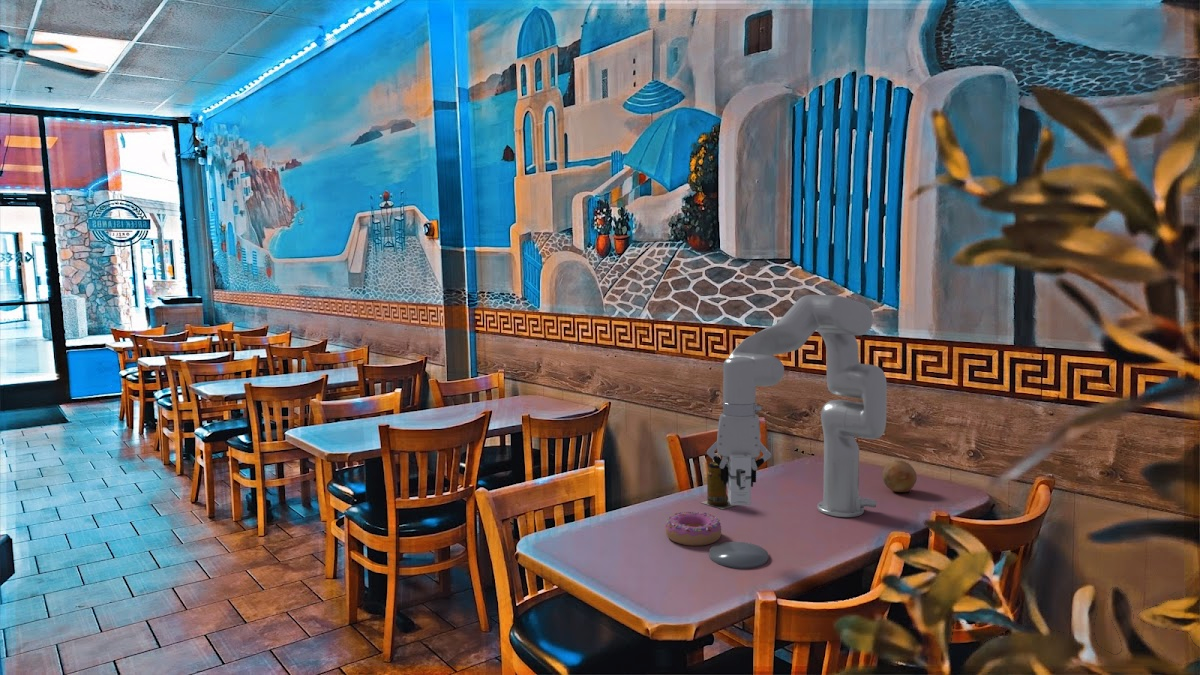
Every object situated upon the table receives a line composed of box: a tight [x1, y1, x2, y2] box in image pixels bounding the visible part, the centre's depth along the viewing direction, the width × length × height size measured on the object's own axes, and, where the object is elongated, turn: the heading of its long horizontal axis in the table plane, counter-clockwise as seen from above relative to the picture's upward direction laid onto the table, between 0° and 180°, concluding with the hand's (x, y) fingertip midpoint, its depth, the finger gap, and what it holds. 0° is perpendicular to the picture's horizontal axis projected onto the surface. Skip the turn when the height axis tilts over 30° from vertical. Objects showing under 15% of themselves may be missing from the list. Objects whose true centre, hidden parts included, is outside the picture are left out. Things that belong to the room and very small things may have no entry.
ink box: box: [726, 454, 752, 506], centre depth 179 cm, size 9×5×12 cm, turn 178°
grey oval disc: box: [708, 541, 769, 569], centre depth 182 cm, size 14×14×1 cm
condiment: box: [700, 461, 736, 510], centre depth 220 cm, size 7×8×12 cm
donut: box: [665, 511, 722, 547], centre depth 195 cm, size 14×14×5 cm
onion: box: [882, 459, 918, 493], centre depth 229 cm, size 10×10×10 cm
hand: (738, 483), depth 180 cm, fingers closed on ink box, 5 cm apart
